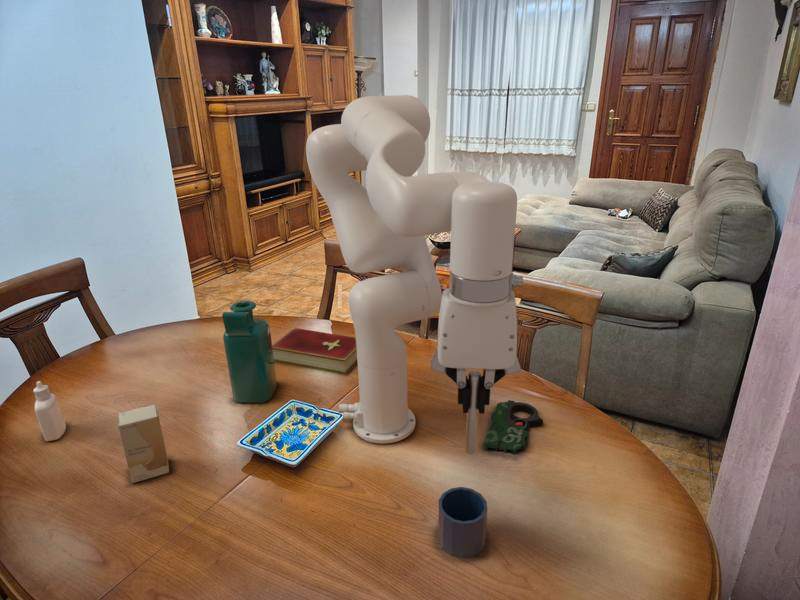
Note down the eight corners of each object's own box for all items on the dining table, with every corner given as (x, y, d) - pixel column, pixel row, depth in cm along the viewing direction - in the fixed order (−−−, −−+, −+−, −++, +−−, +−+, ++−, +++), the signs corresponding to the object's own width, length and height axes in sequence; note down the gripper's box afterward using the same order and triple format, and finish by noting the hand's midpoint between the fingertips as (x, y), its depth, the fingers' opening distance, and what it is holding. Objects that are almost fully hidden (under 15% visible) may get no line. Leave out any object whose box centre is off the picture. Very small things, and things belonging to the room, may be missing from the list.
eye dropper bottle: (75, 425, 105) (59, 375, 100) (54, 443, 100) (36, 391, 95) (57, 423, 106) (40, 373, 101) (35, 440, 101) (16, 388, 96)
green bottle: (243, 382, 119) (229, 295, 111) (279, 383, 119) (268, 295, 110) (228, 407, 110) (212, 314, 102) (267, 407, 110) (255, 314, 101)
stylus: (465, 454, 73) (469, 376, 68) (464, 447, 74) (468, 370, 69) (476, 454, 73) (481, 376, 68) (475, 447, 74) (480, 370, 69)
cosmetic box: (131, 484, 89) (115, 426, 84) (131, 469, 93) (115, 413, 88) (171, 472, 92) (158, 415, 87) (169, 458, 95) (156, 402, 91)
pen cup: (438, 559, 74) (439, 523, 71) (437, 520, 81) (438, 486, 78) (487, 561, 74) (489, 524, 71) (482, 522, 80) (484, 487, 77)
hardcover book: (295, 340, 139) (294, 326, 137) (366, 351, 132) (365, 337, 131) (270, 360, 129) (268, 346, 127) (346, 374, 122) (345, 359, 120)
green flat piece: (536, 455, 92) (481, 443, 95) (535, 462, 93) (481, 450, 96) (545, 406, 106) (497, 397, 109) (545, 412, 107) (497, 403, 110)
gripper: (538, 274, 66) (525, 394, 74) (417, 273, 67) (417, 391, 75) (549, 297, 59) (534, 426, 67) (415, 295, 61) (415, 422, 68)
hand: (472, 407), depth 71 cm, fingers closed on stylus, 1 cm apart
